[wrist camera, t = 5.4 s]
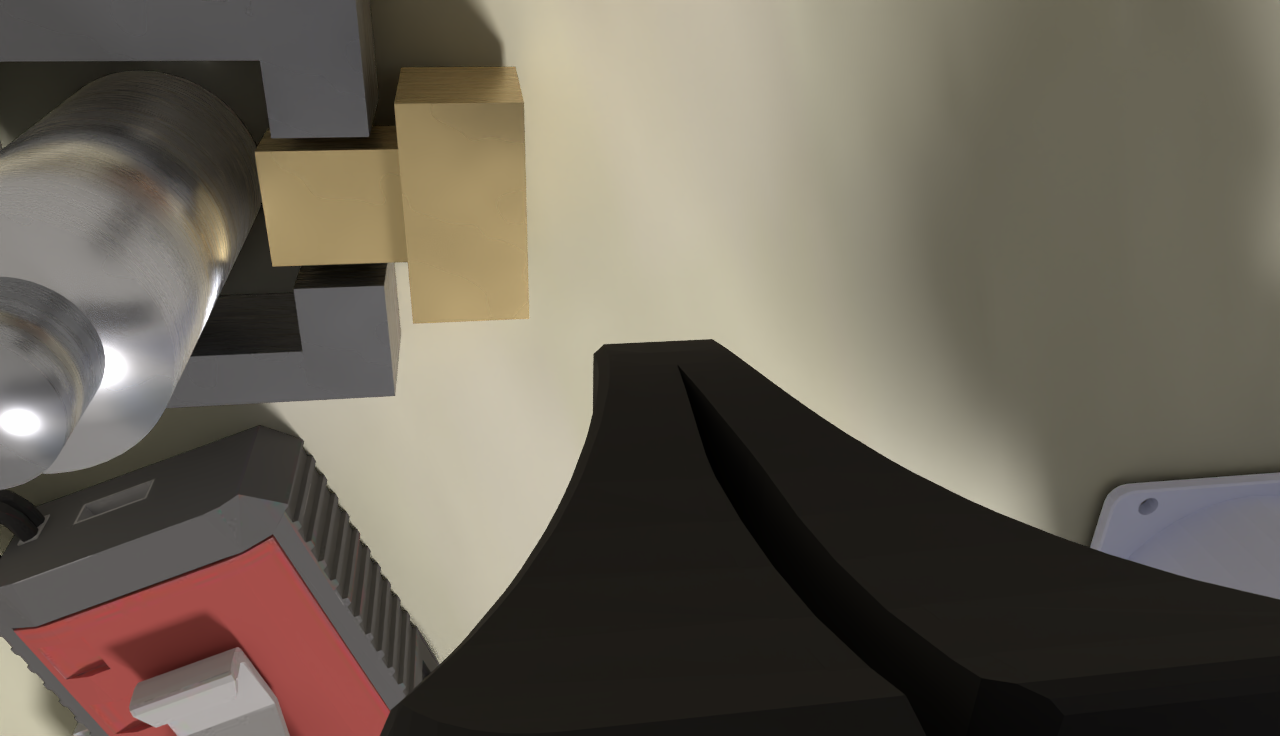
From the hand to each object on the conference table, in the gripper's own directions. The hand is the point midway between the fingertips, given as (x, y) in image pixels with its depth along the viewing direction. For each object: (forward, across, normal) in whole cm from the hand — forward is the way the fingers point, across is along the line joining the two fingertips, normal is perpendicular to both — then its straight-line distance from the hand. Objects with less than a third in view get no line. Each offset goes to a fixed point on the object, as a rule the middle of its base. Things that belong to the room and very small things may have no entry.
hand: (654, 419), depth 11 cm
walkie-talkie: (+10, +7, +15) cm, 19 cm away
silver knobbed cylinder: (+9, +8, 0) cm, 12 cm away
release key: (+9, +3, 0) cm, 10 cm away
